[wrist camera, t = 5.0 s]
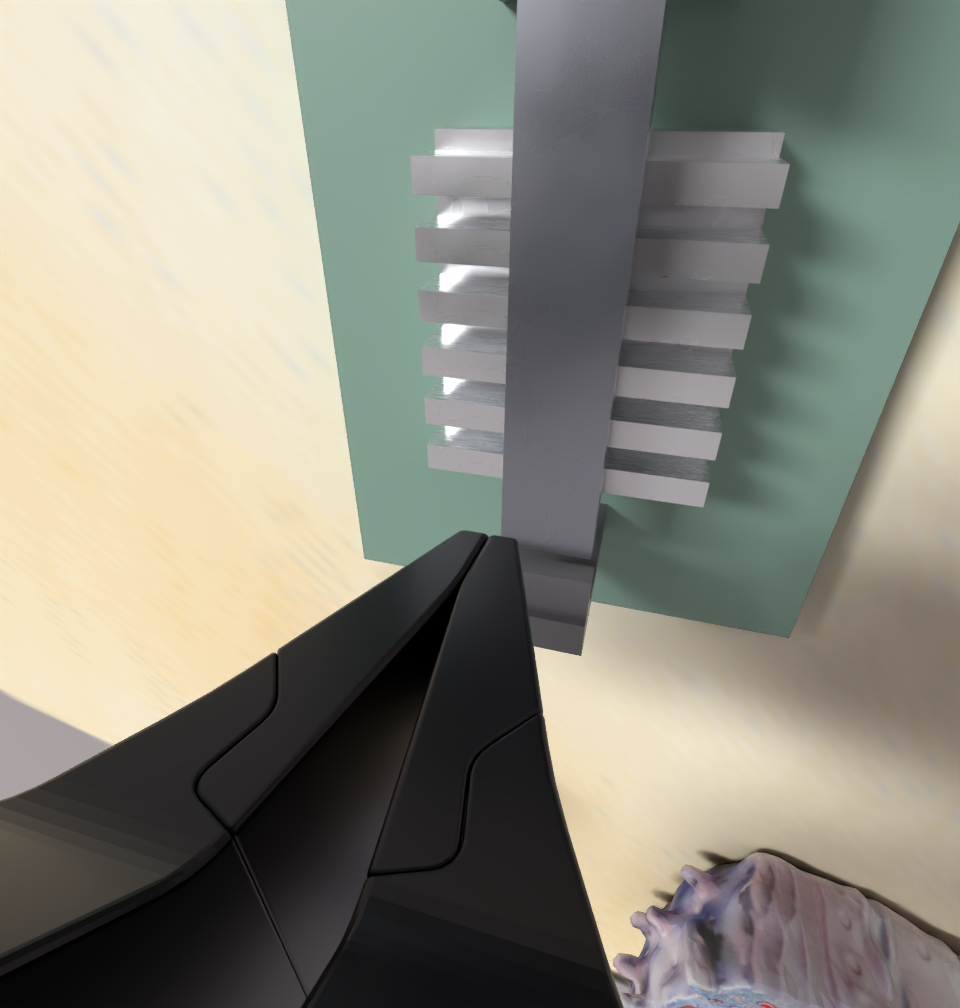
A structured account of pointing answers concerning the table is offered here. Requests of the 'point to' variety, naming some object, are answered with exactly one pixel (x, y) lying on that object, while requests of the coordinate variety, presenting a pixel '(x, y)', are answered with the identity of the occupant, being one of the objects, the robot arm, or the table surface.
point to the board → (773, 303)
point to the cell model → (782, 946)
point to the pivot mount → (508, 1)
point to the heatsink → (650, 307)
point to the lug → (560, 594)
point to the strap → (571, 253)
